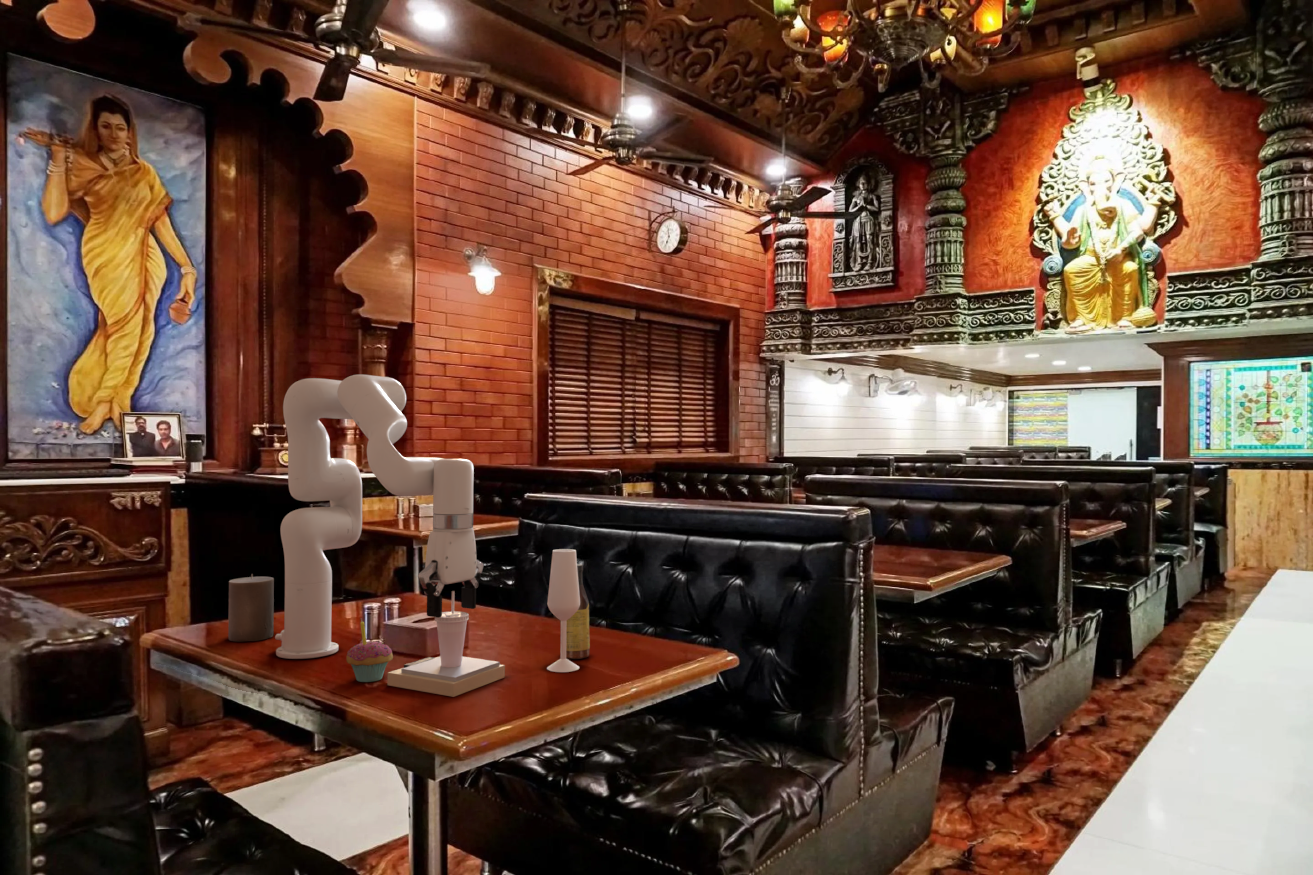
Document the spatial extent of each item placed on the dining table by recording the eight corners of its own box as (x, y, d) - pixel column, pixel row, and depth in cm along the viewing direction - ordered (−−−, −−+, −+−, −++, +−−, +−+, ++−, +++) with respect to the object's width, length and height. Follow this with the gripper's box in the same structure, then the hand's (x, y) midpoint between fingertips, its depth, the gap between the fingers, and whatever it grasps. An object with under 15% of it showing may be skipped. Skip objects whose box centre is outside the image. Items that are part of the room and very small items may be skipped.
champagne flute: (549, 663, 173) (550, 548, 174) (581, 663, 173) (582, 548, 174) (544, 671, 167) (545, 552, 167) (577, 672, 166) (578, 552, 167)
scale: (387, 685, 156) (387, 668, 156) (441, 667, 170) (442, 651, 170) (453, 696, 149) (453, 679, 149) (504, 677, 162) (505, 660, 162)
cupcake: (365, 687, 155) (366, 622, 155) (336, 680, 159) (337, 617, 160) (401, 677, 162) (402, 615, 162) (372, 670, 167) (373, 610, 167)
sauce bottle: (595, 656, 179) (596, 564, 180) (573, 661, 175) (574, 567, 175) (575, 651, 184) (576, 561, 184) (553, 656, 179) (554, 564, 180)
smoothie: (472, 661, 162) (473, 589, 162) (461, 669, 156) (462, 594, 156) (441, 660, 163) (441, 588, 163) (428, 668, 156) (429, 594, 156)
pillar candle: (280, 637, 196) (281, 573, 196) (237, 644, 189) (238, 578, 189) (262, 631, 203) (263, 569, 203) (220, 637, 195) (221, 573, 196)
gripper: (467, 519, 169) (466, 603, 169) (405, 525, 154) (404, 618, 153) (496, 520, 166) (495, 606, 165) (437, 527, 150) (435, 622, 150)
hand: (451, 612), depth 159 cm, fingers open, 9 cm apart
